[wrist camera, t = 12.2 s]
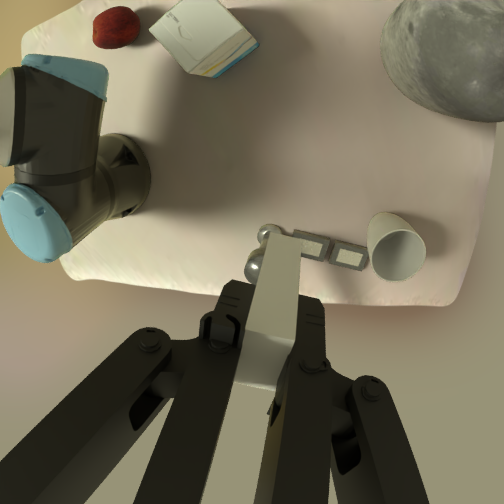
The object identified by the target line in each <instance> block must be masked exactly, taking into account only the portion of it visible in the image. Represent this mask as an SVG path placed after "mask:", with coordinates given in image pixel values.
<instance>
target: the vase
mask: <svg viewBox="0 0 504 504" xmlns="http://www.w3.org/2000/svg"><path fill="white" fill-rule="evenodd" d="M380 50H381V57H382V61H383V64H384V67H385V69H386V71H387V73H388V75H389V77H390V78H391V80H392V81H393V83H394V84H395V85H396V87H397V88H398V89H399V90H400V91H401V92H402V93H403V94H404V95H406V96H407V97H408V98H409V99H411V100H412V101H414V102H415V103H417V104H419V105H421V106H423V107H425V108H427V109H430V110H433V111H435V112H438V113H441V114H445V115H448V116H452V117H456V118H461V119H466V120H471V121H478V122H502V121H504V0H404V1H403V2H402V3H401V4H400V5H399V6H398V7H397V8H396V9H395V10H394V12H393V13H392V14H391V16H390V17H389V19H388V20H387V22H386V24H385V26H384V28H383V31H382V35H381V40H380Z"/></svg>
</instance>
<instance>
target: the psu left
mask: <svg viewBox="0 0 504 504" xmlns="http://www.w3.org/2000/svg"><path fill="white" fill-rule="evenodd" d="M292 237H294V238H298V239H302V240H301V257H304V258H309V259H313V260H317V261H321V262H323V261H324V258H325V255H326V252H327V249H328V246H329V243H330V238H327V237H323V236H319V235H315V234H311V233H307V232H302V231H298V230H294V232H293V235H292Z"/></svg>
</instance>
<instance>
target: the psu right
mask: <svg viewBox="0 0 504 504" xmlns="http://www.w3.org/2000/svg"><path fill="white" fill-rule="evenodd" d="M368 255H369V253H368V248H366V247H362V246H358V245H354V244H350V243H346V242H343V241H339V240H335V243H334V246H333V249H332V252H331V254H330V257H329V260H328V261H329V264H334V265H338V266H342V267H346V268H350V269H354V270H358V271H362V270H363V267H364V265H365V263H366V260H367V258H368Z"/></svg>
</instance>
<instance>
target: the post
mask: <svg viewBox="0 0 504 504" xmlns="http://www.w3.org/2000/svg"><path fill="white" fill-rule="evenodd" d="M270 232H273V233H277V234H282V231H281V229H280V228H279V227H277V226H276V225H273V224H266V225H264V226H262V227H261V228H260V230H259V232H258V236H257V237H258V241H259V243H260V244H261V245H260V248H266V247H267V243H268V239H269V235H270Z"/></svg>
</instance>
